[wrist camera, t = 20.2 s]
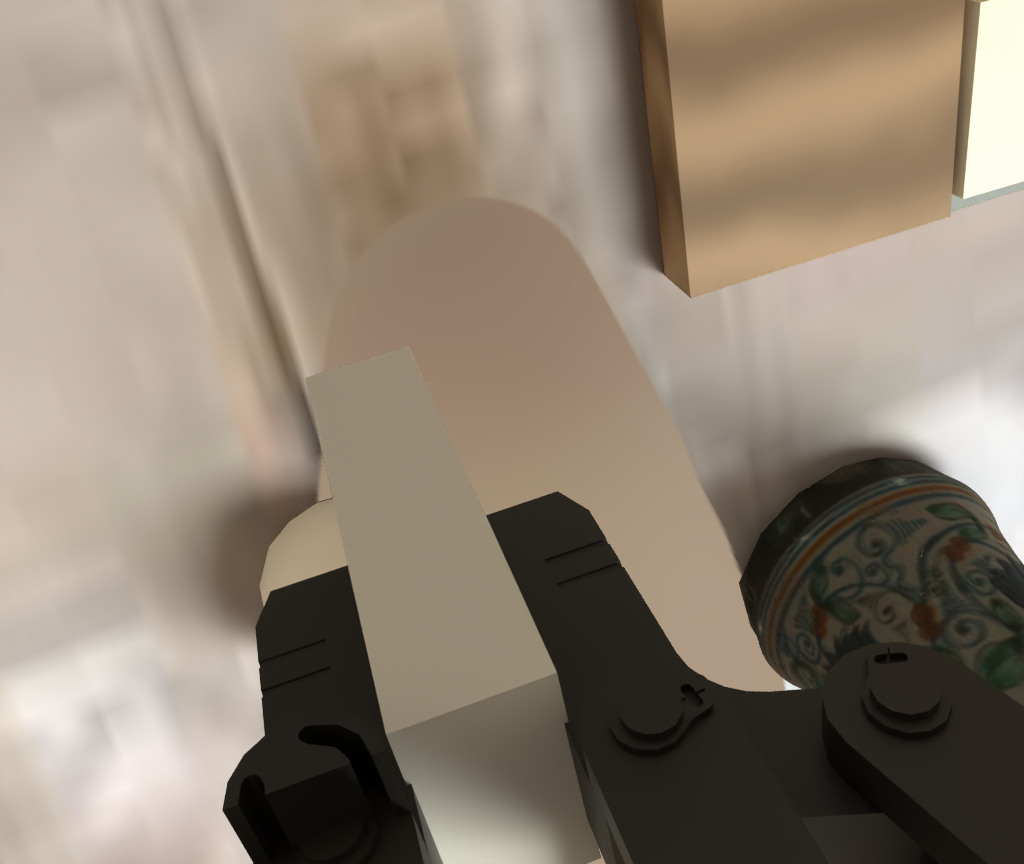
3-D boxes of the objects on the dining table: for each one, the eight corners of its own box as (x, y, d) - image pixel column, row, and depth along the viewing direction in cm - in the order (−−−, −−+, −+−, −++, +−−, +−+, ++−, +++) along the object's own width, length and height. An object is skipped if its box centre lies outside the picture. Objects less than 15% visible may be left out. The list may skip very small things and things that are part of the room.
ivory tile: (943, -5, 44) (980, 2, 42) (1056, -34, 45) (1098, -29, 43) (930, 184, 49) (963, 199, 47) (1032, 155, 50) (1069, 167, 48)
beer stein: (743, 481, 57) (1061, 838, 36) (1023, 417, 61) (1455, 705, 40) (727, 681, 65) (976, 1060, 45) (973, 613, 69) (1306, 933, 49)
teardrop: (263, 664, 53) (281, 847, 43) (254, 497, 48) (271, 664, 38) (457, 638, 56) (514, 804, 47) (468, 479, 51) (536, 629, 41)
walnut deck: (606, -256, 36) (636, -264, 34) (935, -331, 38) (988, -344, 35) (664, 275, 48) (690, 298, 46) (912, 198, 50) (950, 216, 47)
